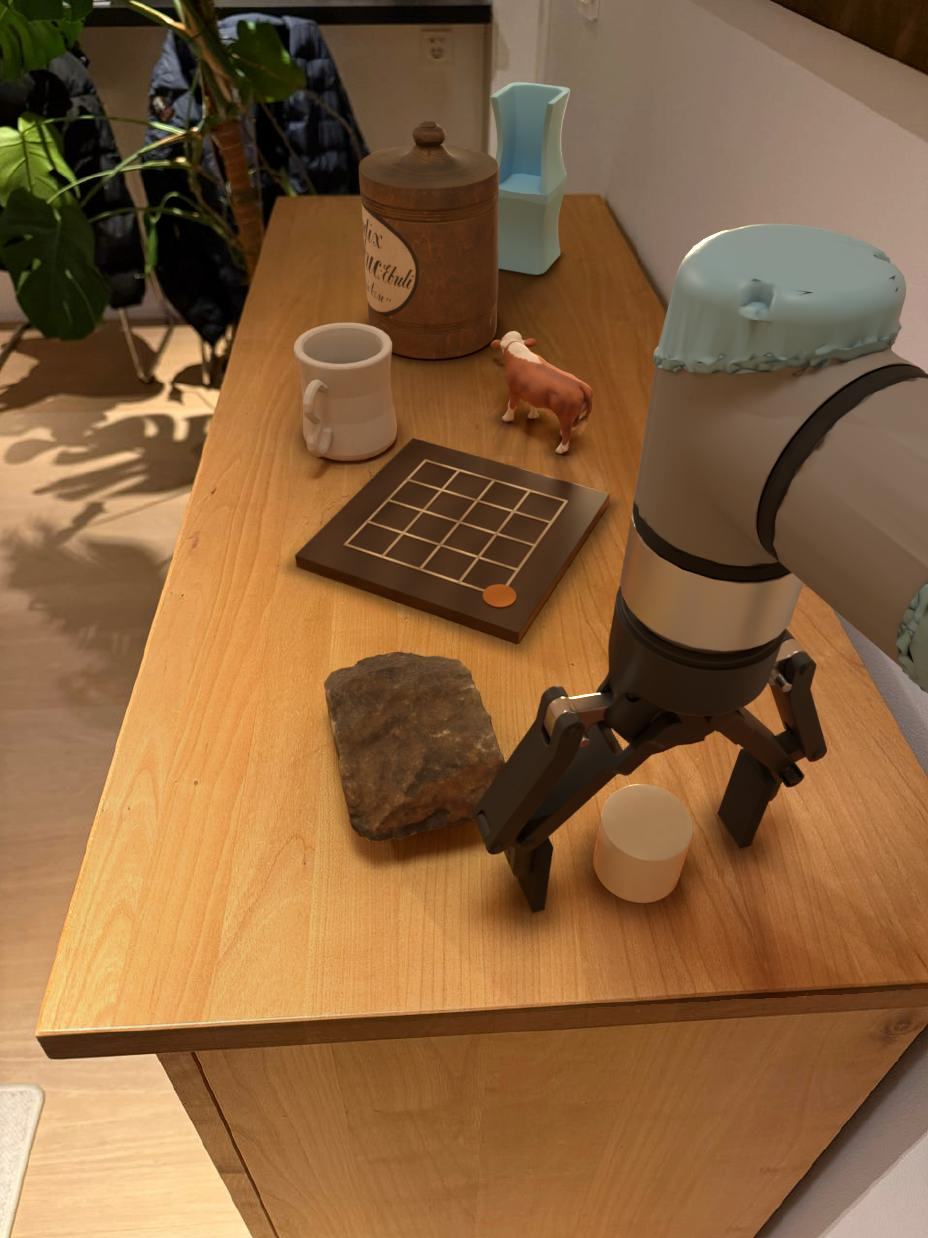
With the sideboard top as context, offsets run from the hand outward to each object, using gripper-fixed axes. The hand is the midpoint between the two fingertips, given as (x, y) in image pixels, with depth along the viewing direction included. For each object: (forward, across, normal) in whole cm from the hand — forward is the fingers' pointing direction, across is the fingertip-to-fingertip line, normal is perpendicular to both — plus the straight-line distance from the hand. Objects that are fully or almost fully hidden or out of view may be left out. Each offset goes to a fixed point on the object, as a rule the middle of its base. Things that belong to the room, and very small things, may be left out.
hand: (634, 860), depth 55 cm
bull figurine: (+1, -13, -48) cm, 50 cm away
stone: (0, +10, -11) cm, 15 cm away
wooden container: (+1, -9, -71) cm, 72 cm away
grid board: (0, 0, -34) cm, 34 cm away
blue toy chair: (+1, -27, -88) cm, 92 cm away
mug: (+1, +6, -50) cm, 50 cm away
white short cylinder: (0, 0, 0) cm, 0 cm away
